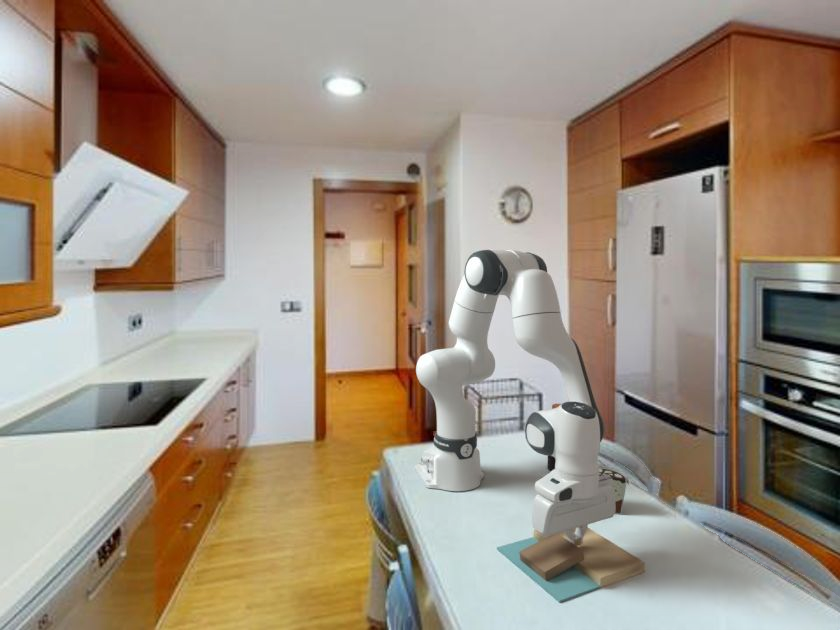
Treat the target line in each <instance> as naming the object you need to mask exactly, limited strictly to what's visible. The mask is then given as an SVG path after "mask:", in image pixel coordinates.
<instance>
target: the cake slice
mask: <svg viewBox="0 0 840 630" xmlns="http://www.w3.org/2000/svg"><path fill="white" fill-rule="evenodd" d="M598 465H599V476H601V475H603V474H607V475H608V476H610V477H611V478H612V479H613V489H614V493H615V505H616V511H615V514H614V515H620V516H621V515H622V514H623V513H622V512H623V508H624V507H623V506H624V501H625V495H626V487H627V484H628V486H629V484H630V482H629V478H628V476H627V473H625V472H623V471H622V470H620V469H618V468H616V467H615V468H614V467H612V466H607V465H600V464H598Z"/></svg>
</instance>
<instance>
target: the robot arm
mask: <svg viewBox="0 0 840 630" xmlns="http://www.w3.org/2000/svg"><path fill="white" fill-rule="evenodd" d="M499 296H506V297H507V298H508V300H509V302H510V311H511V320H512V328H513V335H514V338H515V340H516V343H517V344H518V345H519V346H520V347H521V349H523V350H524V351H525V352H527V353H528V354H530V355H532V356H534V357H537V358H540V359H543V360H545V361H548V362H550V363H551V364H553V365H554V366H555V367H556V368H557V369H558V370H559V373H560V374H561V378H562V381H563V385H564V388H565V392H566V396H567V398H568V401H565V402H563V403H560V404H561V405H560V406H559V407H557V408H554V409H552V408H550V409H542V410H537V411H534V412H532V413H530V415H529V416H528V418H527V419H526V423H525V428H524V429H525V430H524V431H525V433H524V434H525V440H526V443H527V444H528V446H529V447H530V448H531V449H532V450H533V451H535V452H536V453H538V454H540V455H543V456H547V457H548V456H553V457H554V458H555V460H556V463H555V469H554V470H552V471H549V473H547V474H546V475H544V476H543V477H541V478H540V479H538V480H537V481H535V483H534V490H535V491H536V493H537V494H536V495H535V497H534V499H533V504H532V517H531V518H532V519H531V522H532V523H531V524H532V528H533V530H536V531H537V532H539V533H540V534H541V535H543V536H545V537H547V536H550V535H554V534H557V533H561V532H564V533H565V535H566V537H567V540H568V541H570V542H571V543H573V544H574V545H576V546H578V545H581V544H583V537H584V535H585V533H586V531H587V529H588V528H589V525H591V524H595V523H597V522H600V521H605V520H608V519H611V518H613V517H614V515H616V514H615V511H616V505H615V493H614V489H613V479H612V478H611V477H610V476H608V475H607V474H603V475H601V476H599V465H600V464H599V462H598V458H599V454H600V450H601V443H602V441H603V438H604V435H605V430H606V429H605V422H604V419H603V416H602V415H601V413H600V411H599V408H598V406H597V403H596V401H595V398H594V394H593V390H592V388H591V383H590V380H589V376H588V373H587V370H586V366H585V362H584V360H583V356H582V354H581V351H580V348H579V346H578V343H577V342H576V341H575V340H574V339H573V338H572V337H570V335H569V334H568V331H567V330H566V328H565V326H564V323H563V319H562V313H561V307H560V302H559V297H558V294H557V290H556V287H555V284H554V281H553V279H552V276H551V275H550V274H549V272H548V266H547V264H546V262H545V260H544V259H543V258H542V257H541V256H539V255H537V254H536V253H531V252H527V251H526V252H524V251H520V250H519V251H518V250H512V249H506V250H503V249H502V250H499V249H497V250H491V249H483V250H478V251H474V252H473V253H471V254H470V255H469V256H468V258H467V260H466V262H465V265H464V275H463V276H462V278H461V281H460V283H459V285H458V288H457V290H456V294H455V298H454V301H453V305H452V308H451V312H450V315H449V318H448V327H449V330H450V332H451V333H452V335H453V336H455V337H456V343H455V344H454V346H453V347H450V348H449V347H447V348H440V349H434V350H432V351H427V352H426V353H423V354H422V355H420V357H419V358H418V360H417V362H416V367H415V373H416V377H417V380H418V381H419V383H420V384H421V386H423V388H425V389H426V390H428V392H429V393H430V394H431V397H432V399H433V400H434V401H433V402H434V405H435V411H436V431H434V433H433V436H434V438H433V443H432V444H431V445H430V446H428V447H427V448H426V449H425V450H423V452H422V457H421V458H420V463H417V464H415V465H414V467H413V468H414V471H415V473H416V474H417V476H418V477H419V479H420V480H421V481H422V484H423V485H424V486H425V487H426V488H428V489H437V490H438V489H439V490H444V491H448V492H449V491H450V492H465V491H470V490H474V489H476V488H478V487H479V486H480V485H481V483H482V481H481V480H483V478H484V477H485V473H484V472H483V471H481V470H482V469H481V468H482V467H481V455H480V454H481V453H480V450H479V449H478V448H477V446H478V435H477V432H476V416H477V415H476V407H475V405H474V403H472V402H471V401H470V400H468V399H467V398H465V396H464V392H463V386H466V385H467V386H468V385H471V384H473V385H474V384H478V383H481V382H482V381H485V380H486V379H489V378H490V377H492V375H494V373H495V369H496V360H495V359H496V358H495V356H494V354H493V352H492V351H491V349H489V346H488V336H489V331H490V327H491V324H492V319H493V317H494V313H495V309H496V305H497V302H498V299H499ZM575 528H576V531H575V534H572V533H574V529H575Z"/></svg>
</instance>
